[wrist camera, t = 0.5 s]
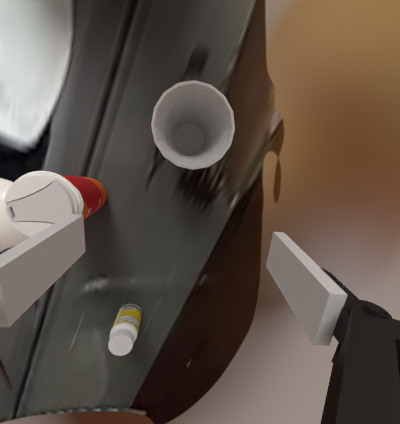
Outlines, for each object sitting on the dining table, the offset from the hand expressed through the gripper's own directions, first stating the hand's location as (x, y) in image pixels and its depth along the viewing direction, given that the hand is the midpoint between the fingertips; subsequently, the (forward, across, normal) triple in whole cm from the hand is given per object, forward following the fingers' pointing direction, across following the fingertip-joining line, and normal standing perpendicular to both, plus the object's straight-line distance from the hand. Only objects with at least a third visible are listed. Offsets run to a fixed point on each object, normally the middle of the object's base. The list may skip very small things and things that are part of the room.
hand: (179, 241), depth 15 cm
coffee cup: (+25, -17, -4) cm, 31 cm away
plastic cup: (+28, -1, +7) cm, 29 cm away
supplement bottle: (+23, -9, -28) cm, 37 cm away
